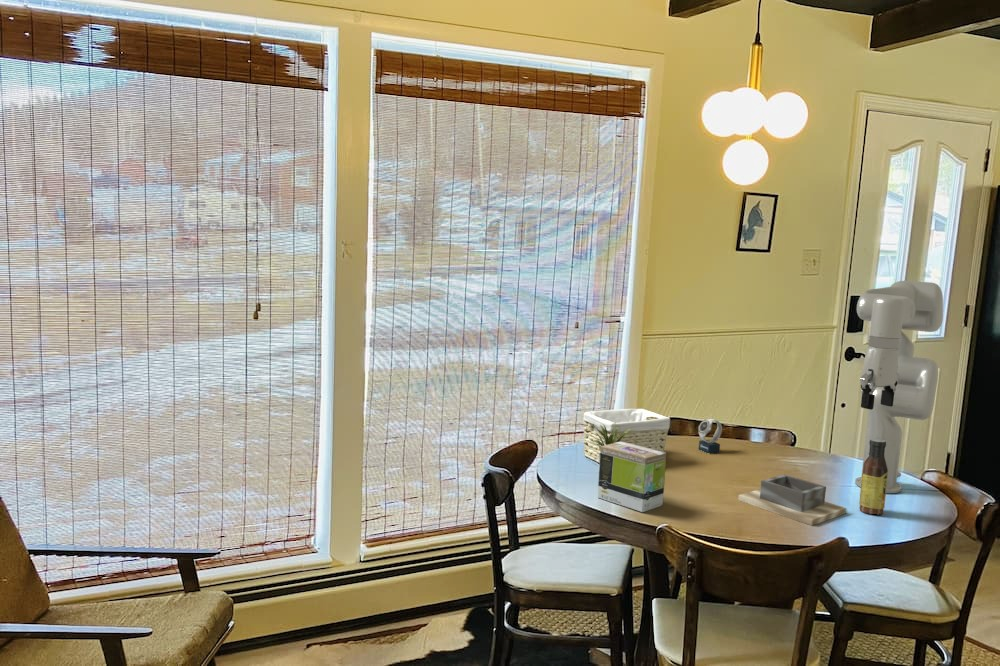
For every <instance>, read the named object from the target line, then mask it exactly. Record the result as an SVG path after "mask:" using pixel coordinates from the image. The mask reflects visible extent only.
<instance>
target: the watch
mask: <svg viewBox="0 0 1000 666" xmlns="http://www.w3.org/2000/svg"><path fill="white" fill-rule="evenodd" d="M714 422H715V424H716V425H717V428H716V430H715V432H714V434H713V436H712V438H711V439H706V438H705V437H706V436H707V434H708V433H710V432H711V431H712V426H713V423H714ZM697 428H698V435H699V438H700V439H701V440H699V441H698V450H699V451H701V450H702V451H701V452H703V451H704V453H705V452H706V454H707V453H715V454H720V449H721V443H718V440H719V439H720V437H721V435H722V432H723V427H722V424H721V422H720V421H719V420H717V419H714V418H707V419H705V420H702V421H701V422H700V423H699V424H698V427H697Z"/></svg>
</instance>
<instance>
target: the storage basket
mask: <svg viewBox="0 0 1000 666" xmlns="http://www.w3.org/2000/svg"><path fill="white" fill-rule="evenodd" d="M582 421H583V425H582V426H583V455H584V456H585V457H586V458H588V459H591V460H592V461H594V462H596V463H599V453H600V451H601V450H599V446H598V445H597V444H598V443H596V442H593V441H594V440H598V441H600V442H601V443H602V441H603V443H604V445H606V444H605V443H606V442H604V440H603V438H604V437H603V436H601V435H602V434H600V433H599V431H601V432H602V433H603V431H602V428H601V427H602V426H603V424H604V425H605V427H606V430H607V435H608V438H609V436H610V435H611V433H612V429H613V433H612V435H613V434H614V435H615V433H614V432H615V430H616V427H618V428H619V429H618V433H617V437H616V440H615V443H616V442H617V440H618V438H619V437H620V436H621V435H622V434H623V433H624V432H625V431H626V430H628V429H630V428H632V429H631V430H629V431H628V432H627V433H628V434H626V435H625V436H624V437H623V438H622V439H621V440H620V442H621V441H623V442H629V443H630V444H634V445H639V446H642V447H646V448H650V449H654V450H658V451H662V452H665V447H666V443H667V436H668V432H669V429H670V423H671V418H670V417H668V416H665V415H661V414H659V413H656V412H653V411H650V410H647V409H644V408H621V409H607V410H606V409H605V410H601V409H600V410H592V411H585V412H584V413H583V418H582ZM587 423H588V424H587ZM591 424H592V425H591ZM614 424H615V425H614ZM593 425H594V426H595V427H594V426H593ZM601 425H602V426H601ZM600 426H601V427H600ZM613 426H614V428H613ZM603 428H604V426H603ZM597 429H598V430H599V431H598V430H597ZM604 429H605V428H604ZM596 433H597V434H598V435H599V436H600V437H601V439H602V441H601V440H600V438H599V436H598V435H597V434H596ZM603 434H604V433H603ZM614 435H613V438H614ZM602 437H603V438H602ZM600 446H601V445H600Z"/></svg>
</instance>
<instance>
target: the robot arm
mask: <svg viewBox="0 0 1000 666" xmlns="http://www.w3.org/2000/svg"><path fill="white" fill-rule="evenodd" d="M943 296H944V295H943V291H942V288H941V287H940V285H939V284H937V283H935V282H928V281H916V280H915V281H914V280H899V281H895V282H894V283H892V284H891V285H890V286H886V287H880V288H871V289H867V290H865V291H863V292H862V293H861V295H860V296H859V298H858V300H857V304H856V313H857V316H858V317H859V319H861V320H863V321H867V322H870V326H869V334H868V335H869V336H868V343H867V344H868V345H867V350H866V351H865V356H864V360H863V365H862V370H861V376H860V379H859V380H860V389H861V391H860V392H861V401H860V408H862V409H867V423H866V432H865V441H864V442H865V443H864V451H863V458H862V459H863V460H862V465H863V464H864V462H865V460H866V459H867V458H868V457H869V451H870V445H869V442H870V439H881V440H885V441H886V447H885V453H884V455H885V456H884V457H885V461H886V465H887V469H888V476H887V487H886V494H897V493H900V492H901V491H902V488H903V487H902V485H900V484H899V483H898V482H897V480H898V478H900V477H901V476H902V473H901V472H900V471H899V465H900V464H899V462H900V454H901V447H902V437H903V431H902V428H901V425H900V424H899V423H898V421H897V419H896V417H897V418H905V419H913V420H920V421H924V420H927V419H929V418H930V417H931V415H932V413H933V410H934V405H935V399H936V393H937V387H938V379H939V367H938V364H937V363H936V361H934V360H932V359H930V358H926V357H918V356H914V352H915V346H914V344H913V341H911V339H910V338H909V337H908V335H906V334H905V333H904V332H903V331H902V330H905V331H906V330H908V331H916V332H925V333H926V332H928V333H932V332H934V333H935V332H937V331H939V330H940V328H941V327H942V325H943V318H944V297H943ZM861 468H862V469H861V473H862V472H863V466H862V467H861ZM861 480H862V475H861V476H859V477H857V478H855V480H854V483H855V485H856V486H858V487H860V488H861Z"/></svg>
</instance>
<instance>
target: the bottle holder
mask: <svg viewBox="0 0 1000 666" xmlns="http://www.w3.org/2000/svg"><path fill="white" fill-rule="evenodd" d="M826 490H827V486H825V485H821V484H818V483H815V482H811V481H808V480H805V479H803V478H798V477H795V476H791V475H789V474H781V475H777V476H775V477H773V476H772V477H770V478H767V479H763V480H761V482H760V489H759V488H758V489H756V490H755V489H754V490H753V491H748V492H745V493H741V494H738V499H737V500H738V501H739V502H741V503H745V504H747V503H748V505H751V506H753V507H757V508H760V509H762V510H765V511H768V512H771V513H774V514H778V515H780V516H783V517H785V518H788V519H792V520H794V521H797V522H800V523H803V524H806V525H809V526H811V527H812V526H815V525H817V524H820V523H823V522H826V521H829V520H832V519H835V518H837V517H841V516H843V515H846V514H845V513H847V507H844V506H841V505H839V504H835V503H832V502H829V501H827V500H826Z"/></svg>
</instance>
